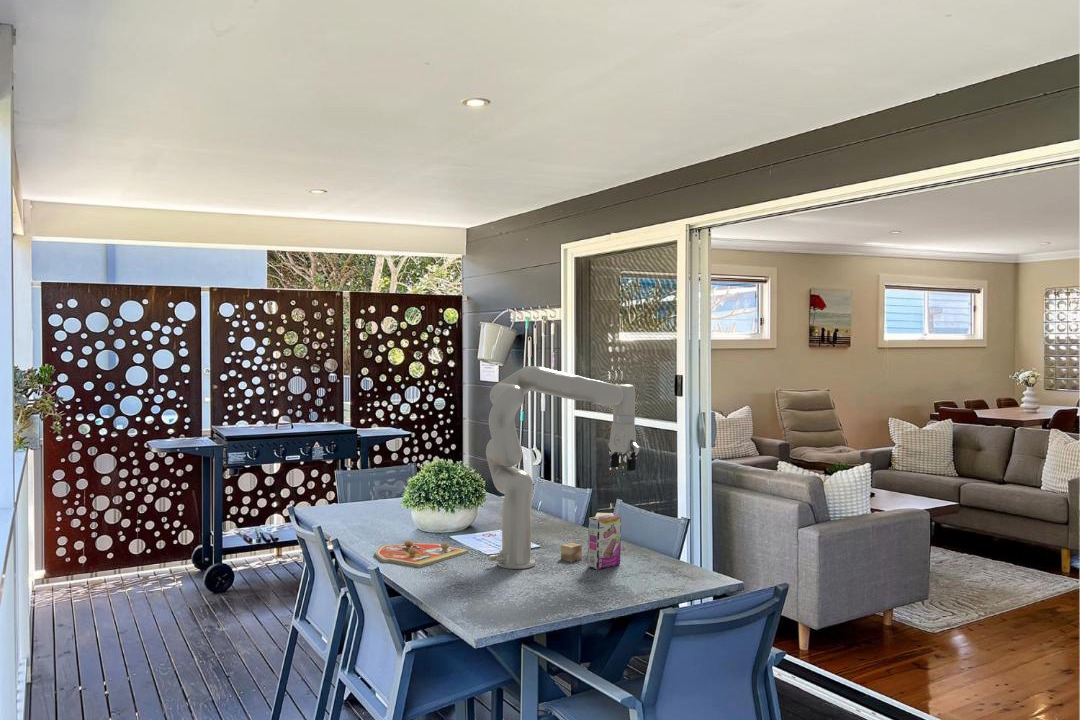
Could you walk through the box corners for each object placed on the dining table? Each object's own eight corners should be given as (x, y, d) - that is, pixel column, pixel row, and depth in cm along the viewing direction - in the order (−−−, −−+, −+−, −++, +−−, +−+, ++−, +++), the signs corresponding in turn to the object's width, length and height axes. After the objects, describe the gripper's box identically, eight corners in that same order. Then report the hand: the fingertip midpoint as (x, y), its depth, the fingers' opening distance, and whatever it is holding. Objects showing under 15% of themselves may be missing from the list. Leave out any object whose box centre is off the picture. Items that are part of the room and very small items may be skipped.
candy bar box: (598, 570, 278) (598, 520, 277) (587, 567, 281) (587, 517, 281) (621, 564, 285) (621, 515, 285) (610, 561, 289) (610, 513, 289)
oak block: (571, 562, 289) (571, 547, 289) (560, 559, 292) (560, 544, 292) (581, 559, 292) (581, 545, 292) (571, 557, 296) (571, 542, 296)
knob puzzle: (417, 570, 278) (417, 556, 278) (352, 558, 294) (352, 545, 294) (472, 553, 303) (472, 540, 303) (408, 542, 319) (408, 530, 319)
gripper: (600, 418, 305) (600, 466, 305) (629, 422, 290) (628, 472, 290) (618, 417, 309) (617, 465, 309) (647, 421, 294) (646, 471, 294)
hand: (622, 468), depth 300 cm, fingers open, 9 cm apart
